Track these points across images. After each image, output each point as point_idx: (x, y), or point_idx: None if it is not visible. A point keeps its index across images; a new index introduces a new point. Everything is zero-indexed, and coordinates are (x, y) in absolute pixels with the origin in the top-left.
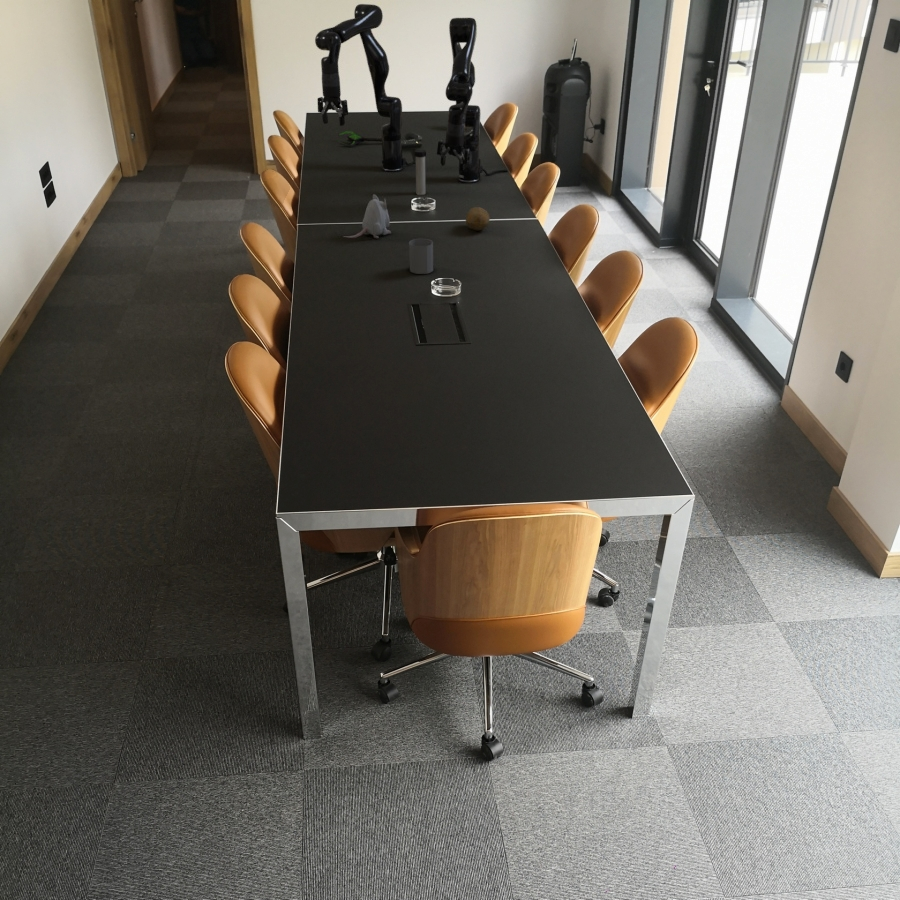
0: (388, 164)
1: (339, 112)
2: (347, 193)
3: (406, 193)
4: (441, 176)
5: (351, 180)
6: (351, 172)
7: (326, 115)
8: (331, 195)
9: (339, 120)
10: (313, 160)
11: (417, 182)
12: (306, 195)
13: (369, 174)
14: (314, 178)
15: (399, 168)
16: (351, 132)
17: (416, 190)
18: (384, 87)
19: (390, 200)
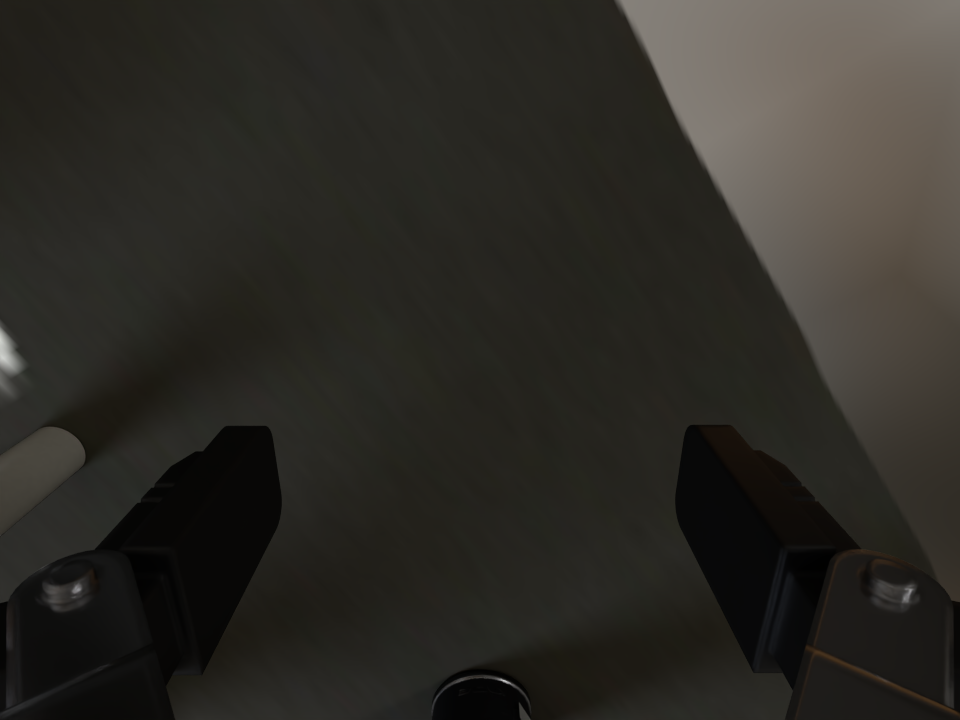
0: (472, 703)
1: (37, 667)
2: (418, 244)
3: (124, 417)
4: (202, 711)
5: (560, 473)
6: (645, 586)
7: (747, 611)
8: (484, 149)
9: (217, 483)
10: None
11: (1, 465)
12: (644, 51)
13: (535, 598)
14: (790, 407)
15: (433, 710)
16: None
17: (53, 442)
18: None
19: (89, 254)
